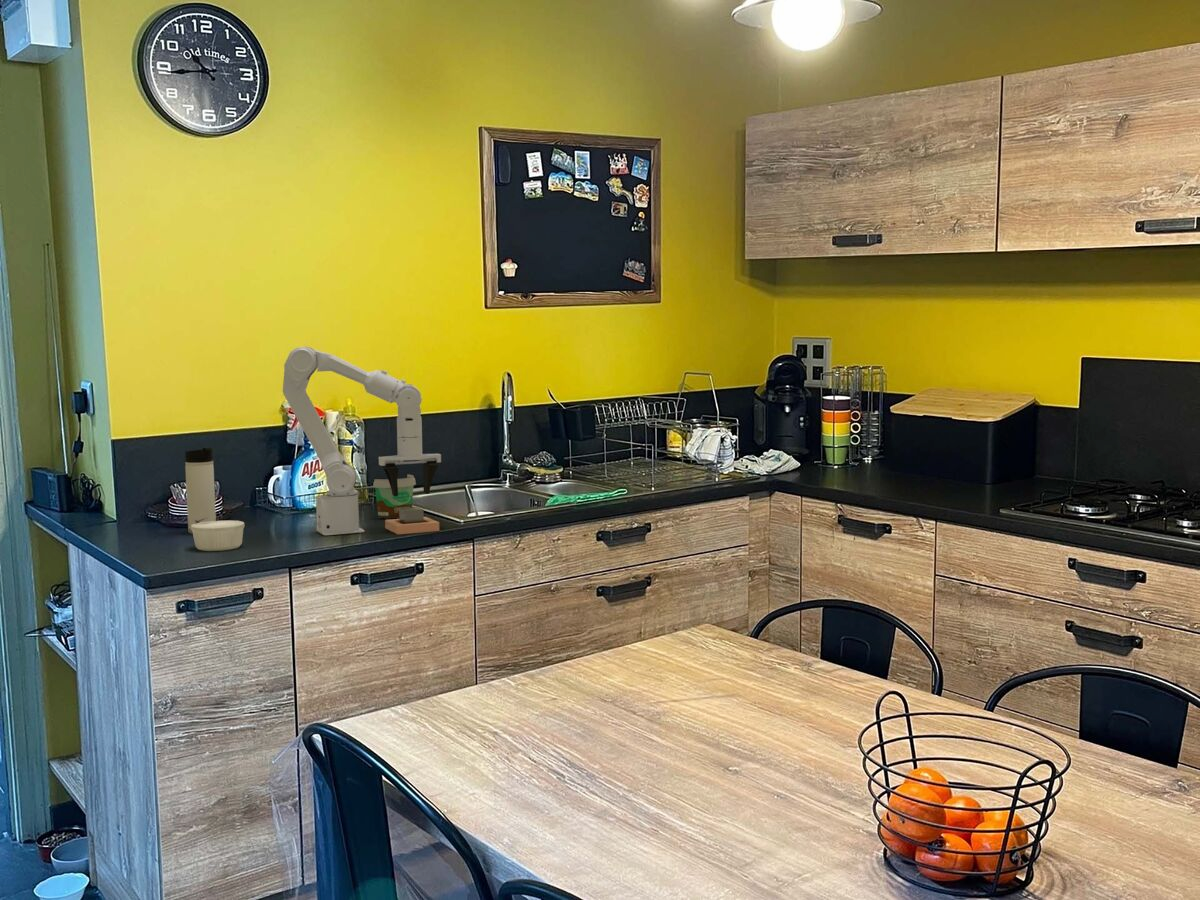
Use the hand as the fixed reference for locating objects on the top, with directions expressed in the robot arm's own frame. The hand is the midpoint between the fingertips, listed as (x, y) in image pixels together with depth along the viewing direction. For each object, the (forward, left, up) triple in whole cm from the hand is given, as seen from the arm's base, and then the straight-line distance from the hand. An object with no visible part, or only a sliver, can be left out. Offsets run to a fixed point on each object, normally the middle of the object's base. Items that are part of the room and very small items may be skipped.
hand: (410, 494), depth 278 cm
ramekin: (-44, -1, -9) cm, 45 cm away
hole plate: (0, 0, -8) cm, 8 cm away
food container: (+4, +21, -9) cm, 23 cm away
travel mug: (-44, +22, -9) cm, 50 cm away
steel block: (0, 0, -8) cm, 8 cm away
